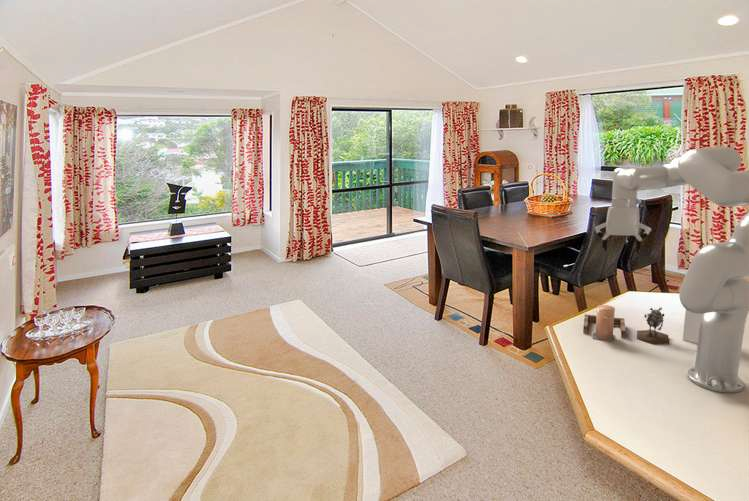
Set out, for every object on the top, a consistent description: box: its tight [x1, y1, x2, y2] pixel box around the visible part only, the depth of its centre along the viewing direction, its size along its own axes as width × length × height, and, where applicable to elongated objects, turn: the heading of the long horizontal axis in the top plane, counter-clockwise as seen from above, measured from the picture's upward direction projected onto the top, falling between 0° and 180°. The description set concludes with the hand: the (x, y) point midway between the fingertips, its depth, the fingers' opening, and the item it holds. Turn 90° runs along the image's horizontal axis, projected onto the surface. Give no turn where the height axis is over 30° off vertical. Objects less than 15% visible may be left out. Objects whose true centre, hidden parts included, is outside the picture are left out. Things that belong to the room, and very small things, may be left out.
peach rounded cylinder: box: [595, 304, 615, 341], centre depth 151 cm, size 6×8×11 cm
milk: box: [682, 309, 703, 345], centre depth 144 cm, size 6×6×22 cm
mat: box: [592, 332, 616, 342], centre depth 153 cm, size 5×7×1 cm
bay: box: [582, 314, 627, 339], centre depth 159 cm, size 12×13×3 cm
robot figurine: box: [636, 306, 670, 345], centre depth 149 cm, size 11×9×12 cm
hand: (620, 250), depth 152 cm, fingers open, 9 cm apart
